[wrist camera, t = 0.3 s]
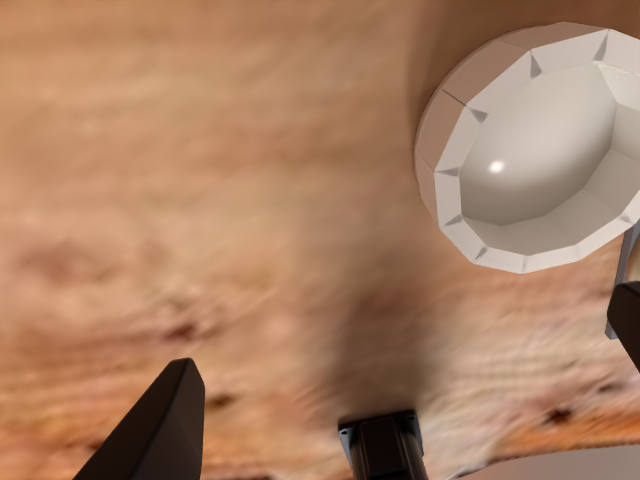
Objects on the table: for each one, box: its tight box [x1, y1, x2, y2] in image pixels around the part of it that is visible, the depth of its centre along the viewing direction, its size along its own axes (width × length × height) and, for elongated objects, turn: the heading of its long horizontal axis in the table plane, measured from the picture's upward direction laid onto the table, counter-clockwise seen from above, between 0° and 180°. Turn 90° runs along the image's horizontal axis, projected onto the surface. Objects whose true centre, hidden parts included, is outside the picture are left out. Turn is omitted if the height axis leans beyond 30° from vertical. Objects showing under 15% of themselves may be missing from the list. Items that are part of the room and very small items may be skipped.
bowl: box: [413, 21, 640, 274], centre depth 20 cm, size 11×11×4 cm
